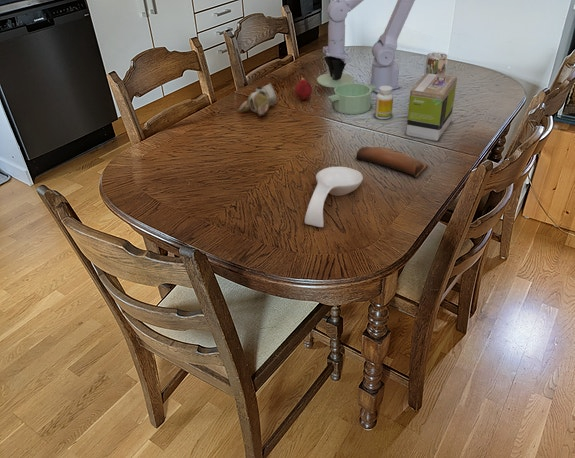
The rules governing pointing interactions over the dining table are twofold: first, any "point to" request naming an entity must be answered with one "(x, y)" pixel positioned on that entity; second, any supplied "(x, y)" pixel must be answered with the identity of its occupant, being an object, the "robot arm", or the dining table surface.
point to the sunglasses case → (391, 159)
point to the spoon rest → (330, 190)
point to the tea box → (431, 106)
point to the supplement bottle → (384, 102)
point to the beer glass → (436, 63)
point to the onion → (303, 89)
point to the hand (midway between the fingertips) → (335, 77)
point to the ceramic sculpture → (259, 100)
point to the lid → (331, 81)
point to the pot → (352, 98)
